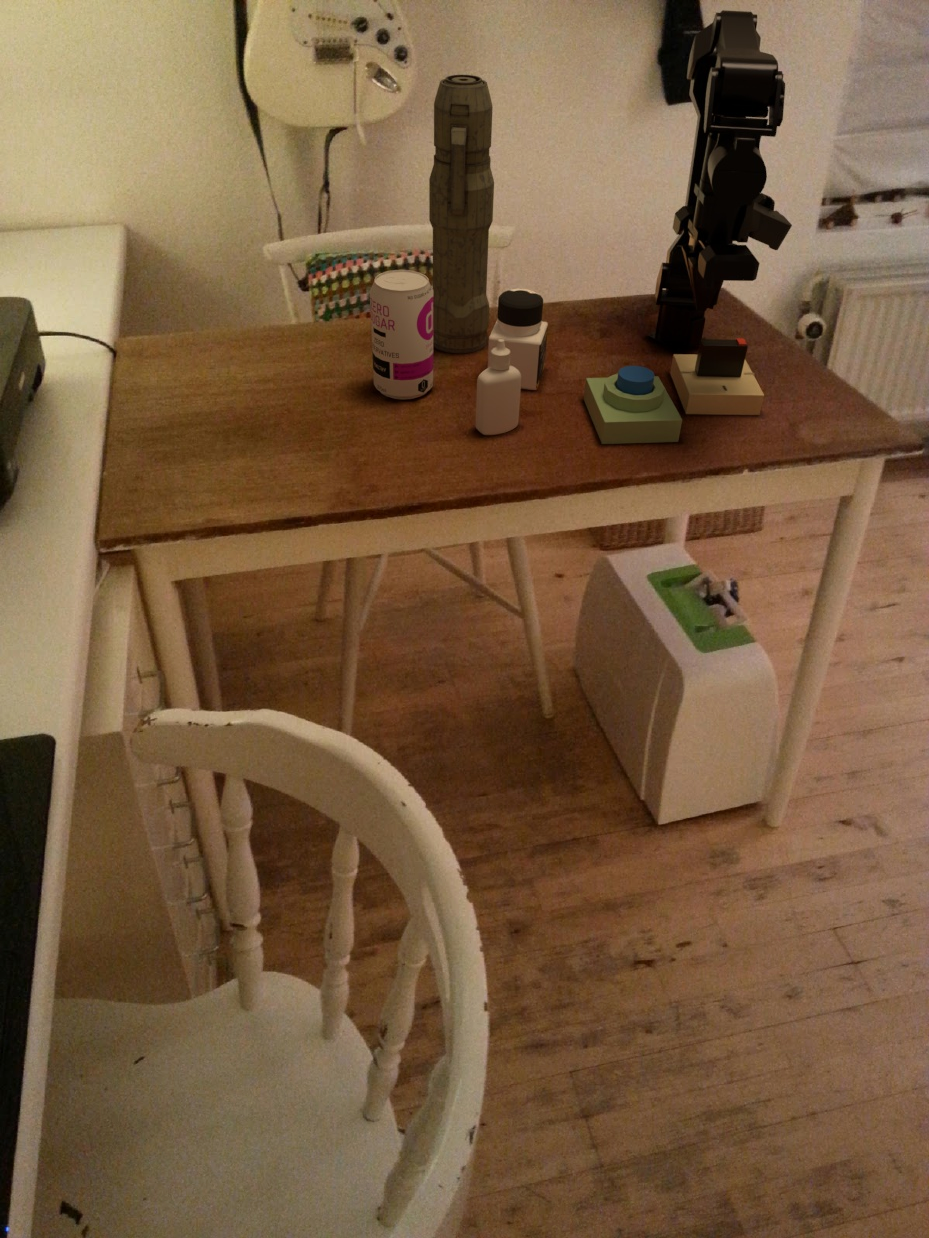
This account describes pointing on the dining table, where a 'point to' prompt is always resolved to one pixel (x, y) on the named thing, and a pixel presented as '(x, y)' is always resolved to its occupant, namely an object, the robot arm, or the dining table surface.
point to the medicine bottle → (522, 334)
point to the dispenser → (631, 413)
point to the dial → (721, 357)
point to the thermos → (461, 213)
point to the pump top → (635, 380)
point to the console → (715, 390)
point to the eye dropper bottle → (498, 394)
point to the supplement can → (402, 333)
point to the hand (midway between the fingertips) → (700, 310)
